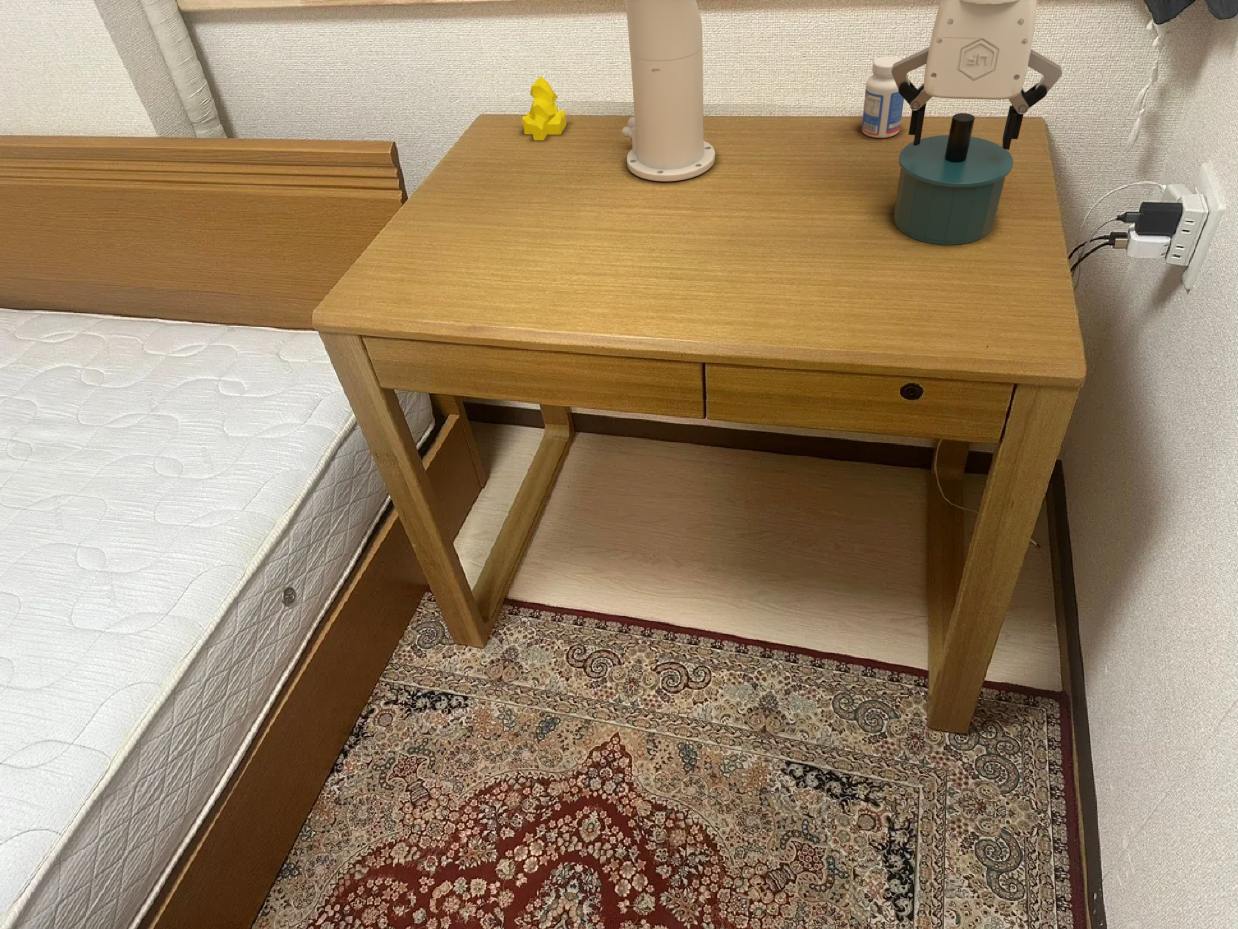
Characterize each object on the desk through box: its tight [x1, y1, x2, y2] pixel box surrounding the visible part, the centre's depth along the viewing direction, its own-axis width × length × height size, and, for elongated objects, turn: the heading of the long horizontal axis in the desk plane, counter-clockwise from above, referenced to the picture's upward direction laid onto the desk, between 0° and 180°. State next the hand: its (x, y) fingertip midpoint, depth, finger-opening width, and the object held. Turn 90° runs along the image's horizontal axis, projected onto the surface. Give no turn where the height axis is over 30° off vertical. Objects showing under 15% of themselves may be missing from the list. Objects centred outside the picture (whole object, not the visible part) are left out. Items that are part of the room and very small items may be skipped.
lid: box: [898, 112, 1014, 187], centre depth 98 cm, size 13×13×6 cm
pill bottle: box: [861, 55, 905, 139], centre depth 121 cm, size 6×5×10 cm
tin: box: [893, 167, 1006, 246], centre depth 102 cm, size 12×12×8 cm
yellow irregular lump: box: [521, 75, 567, 141], centre depth 132 cm, size 6×8×8 cm
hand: (960, 142), depth 98 cm, fingers open, 9 cm apart
